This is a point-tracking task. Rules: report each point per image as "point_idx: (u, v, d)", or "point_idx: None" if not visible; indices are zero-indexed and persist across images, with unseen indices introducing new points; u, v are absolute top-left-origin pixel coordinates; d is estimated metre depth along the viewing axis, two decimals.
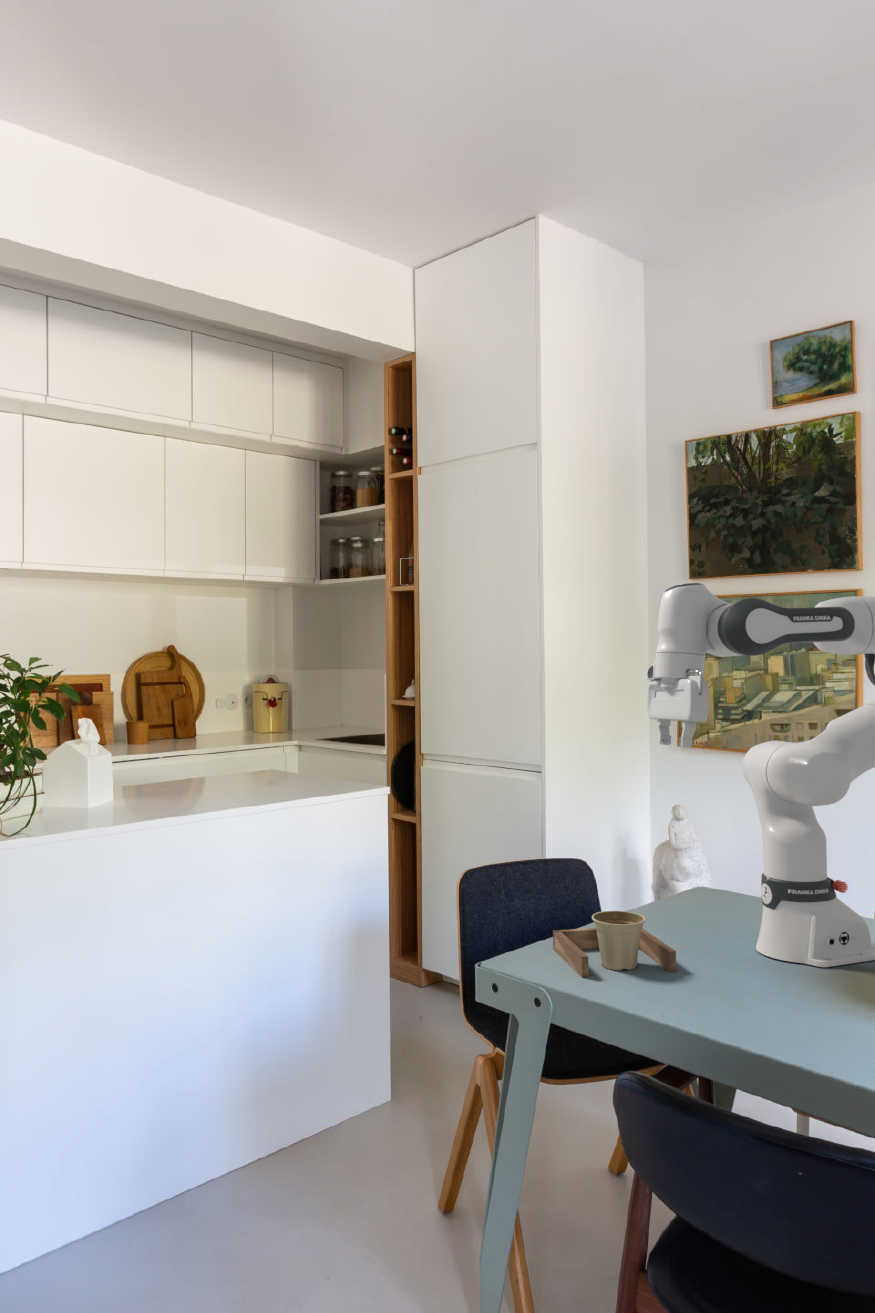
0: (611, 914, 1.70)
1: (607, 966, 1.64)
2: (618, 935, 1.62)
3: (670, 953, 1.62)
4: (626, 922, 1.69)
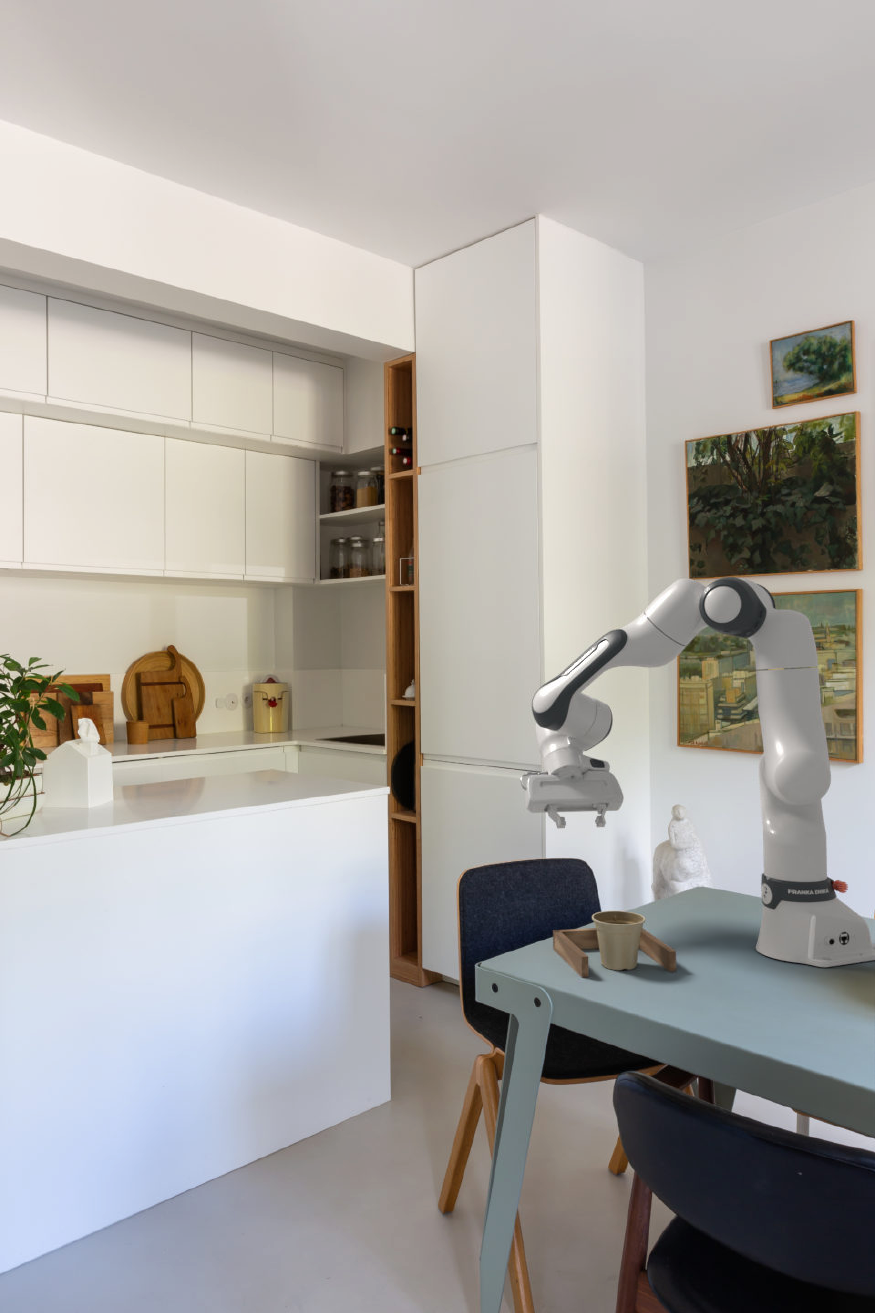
0: (611, 914, 1.70)
1: (607, 966, 1.64)
2: (618, 935, 1.62)
3: (670, 953, 1.62)
4: (626, 922, 1.69)
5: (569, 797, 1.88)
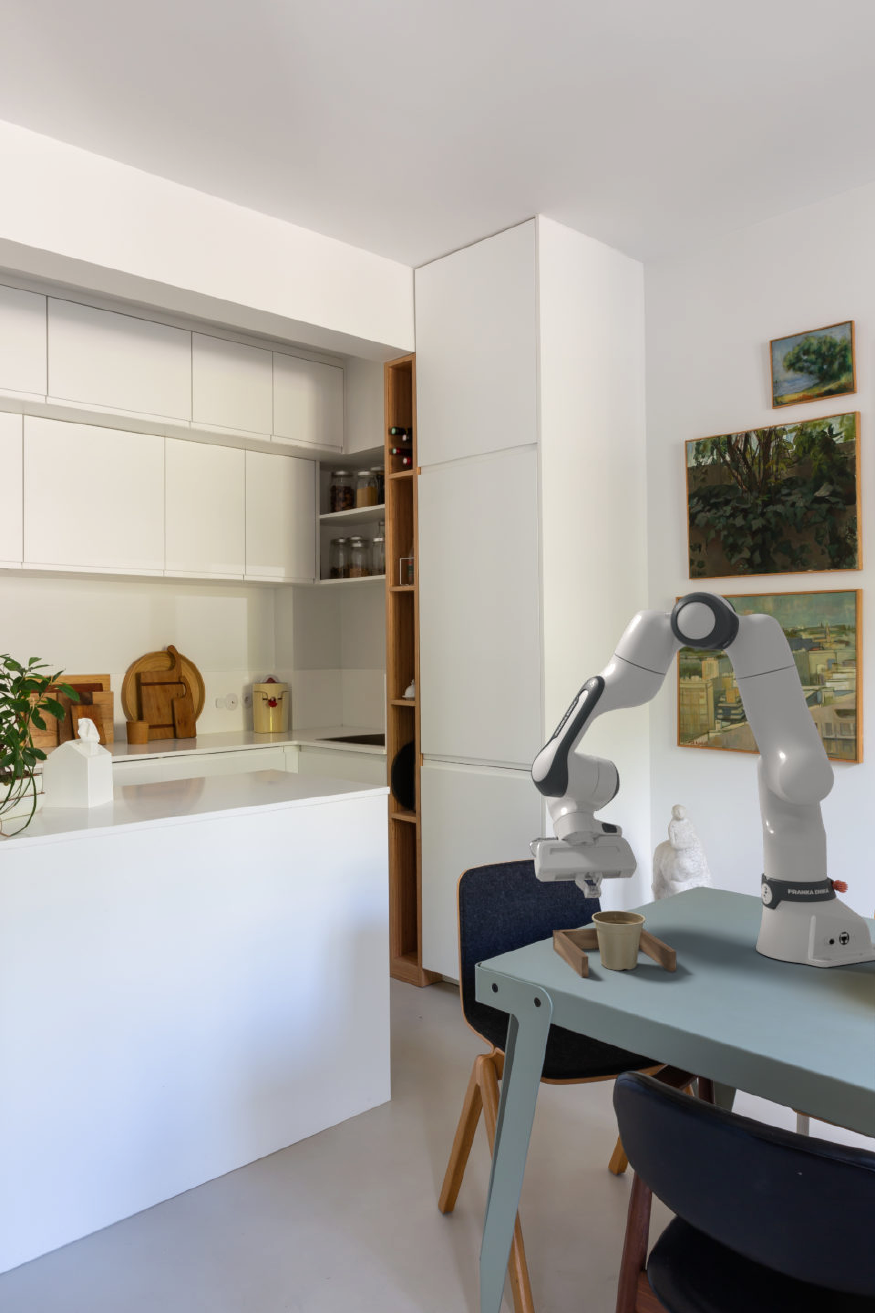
0: (611, 914, 1.70)
1: (607, 966, 1.64)
2: (618, 935, 1.62)
3: (670, 953, 1.62)
4: (626, 922, 1.69)
5: (580, 865, 1.81)
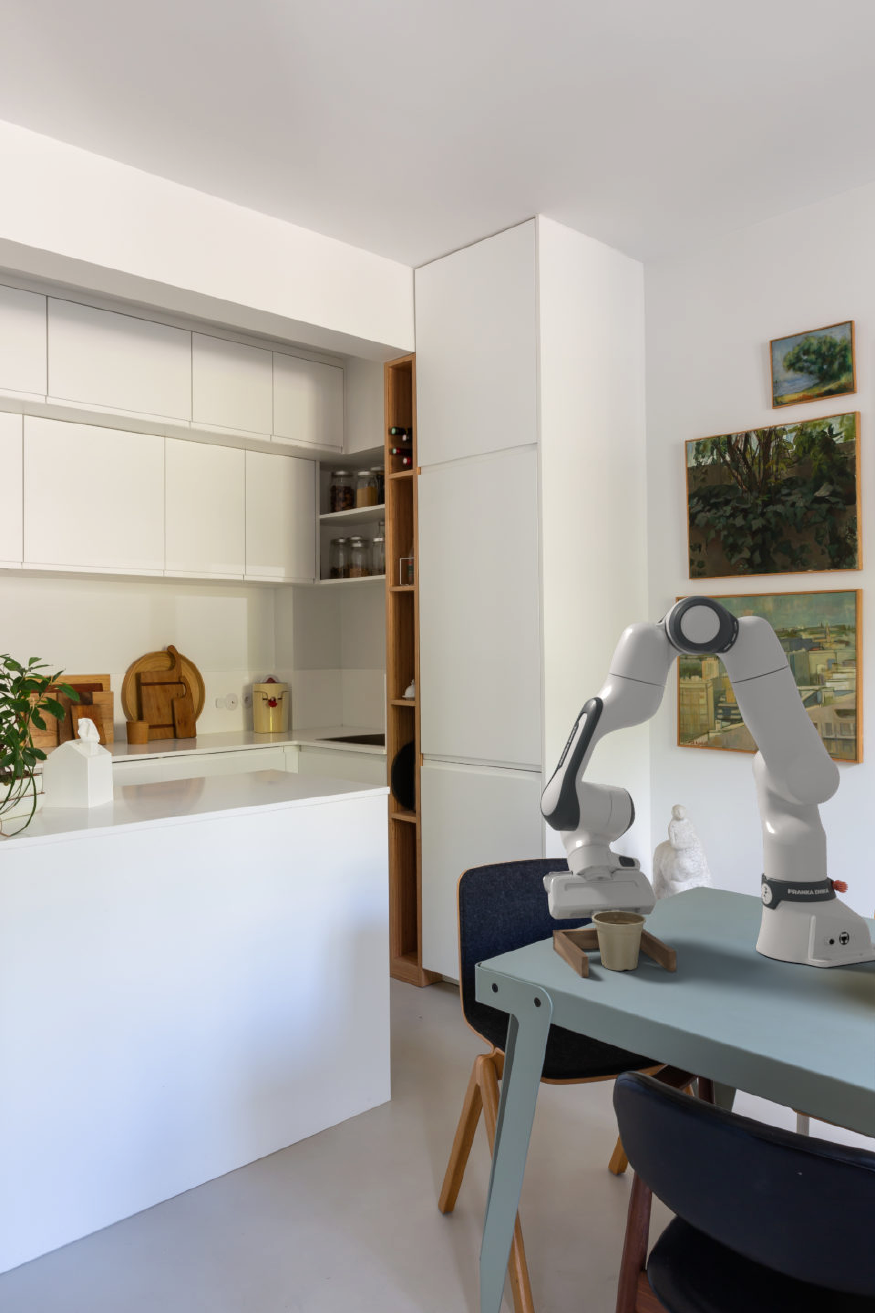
0: (611, 914, 1.70)
1: (607, 966, 1.63)
2: (618, 936, 1.62)
3: (670, 953, 1.62)
4: (626, 922, 1.69)
5: (597, 902, 1.72)
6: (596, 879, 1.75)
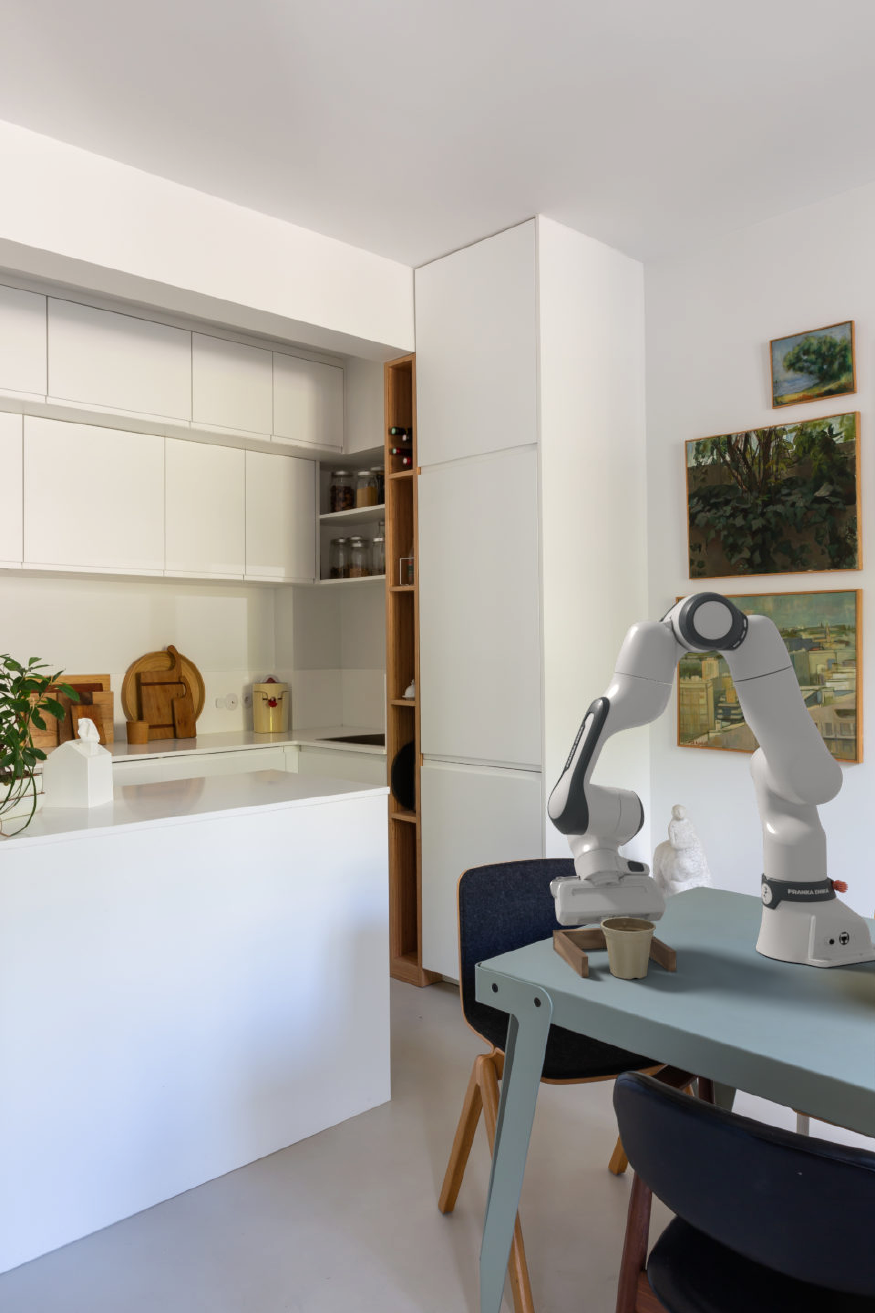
0: (620, 921, 1.65)
1: (617, 975, 1.59)
2: (628, 943, 1.57)
3: (670, 953, 1.62)
4: (636, 929, 1.64)
5: (605, 908, 1.67)
6: (604, 884, 1.71)
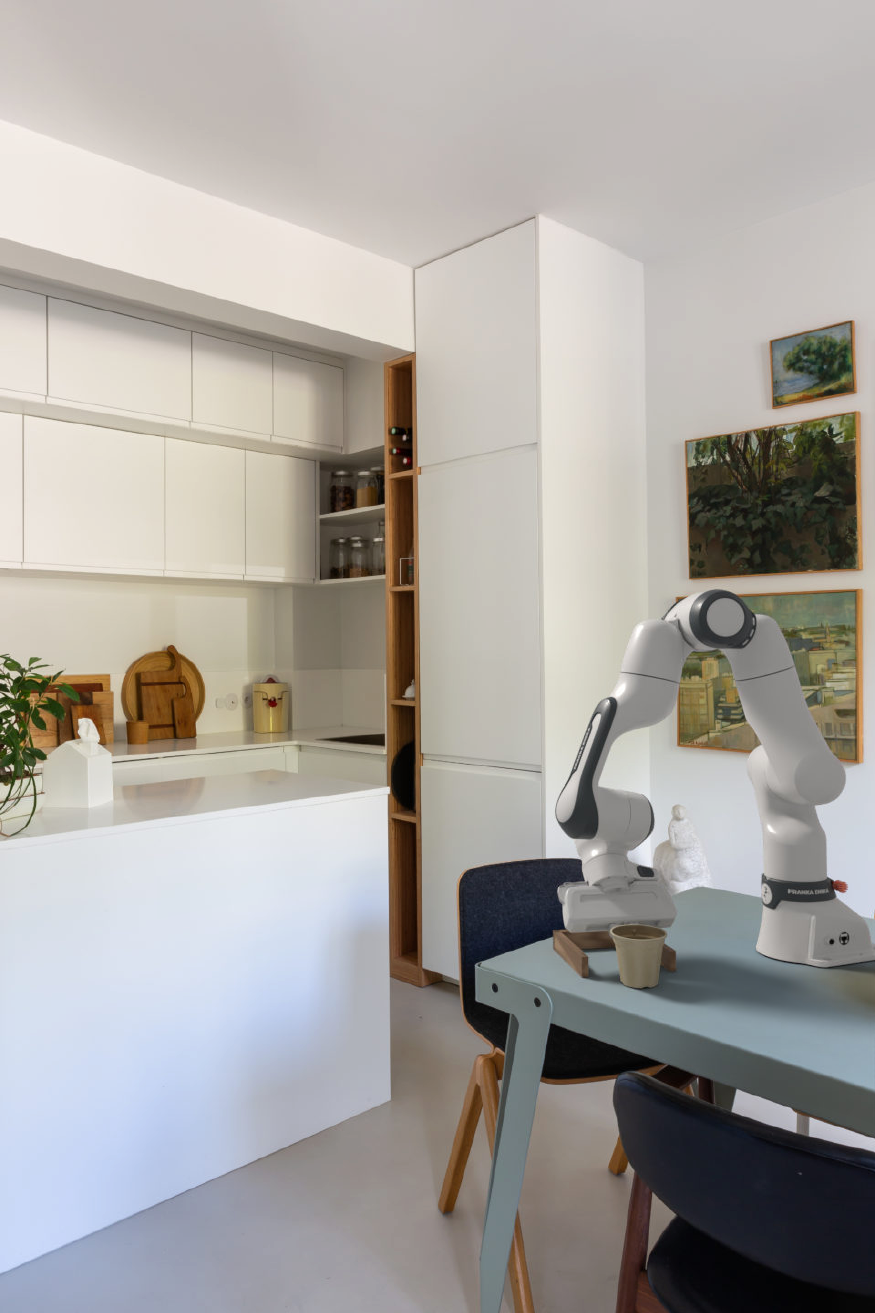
0: (630, 928, 1.61)
1: (627, 984, 1.54)
2: (638, 951, 1.52)
3: (670, 953, 1.62)
4: (646, 936, 1.60)
5: (614, 915, 1.63)
6: (613, 890, 1.66)
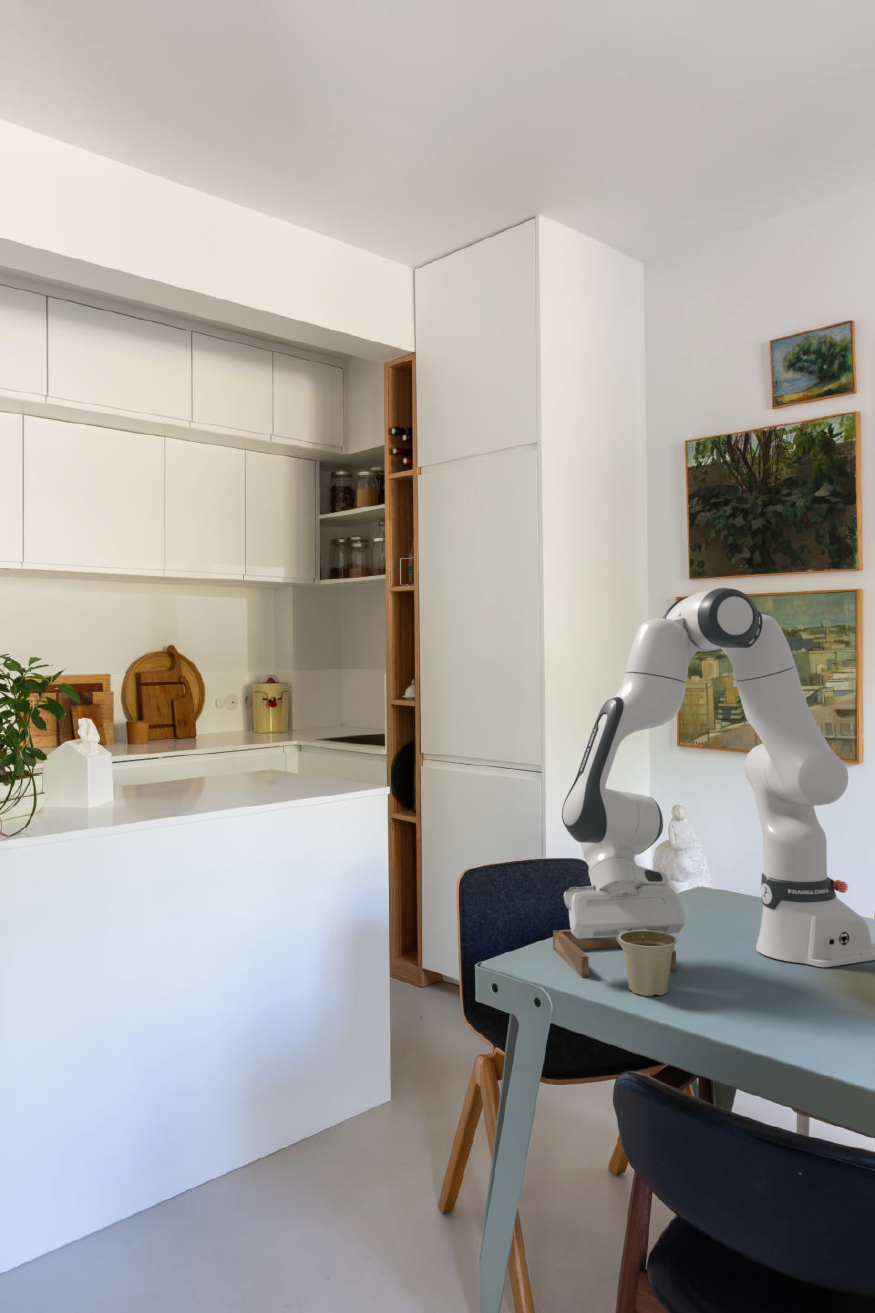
0: (638, 934, 1.57)
1: (636, 991, 1.50)
2: (648, 958, 1.49)
3: None
4: (655, 943, 1.56)
5: (622, 920, 1.59)
6: (621, 895, 1.62)
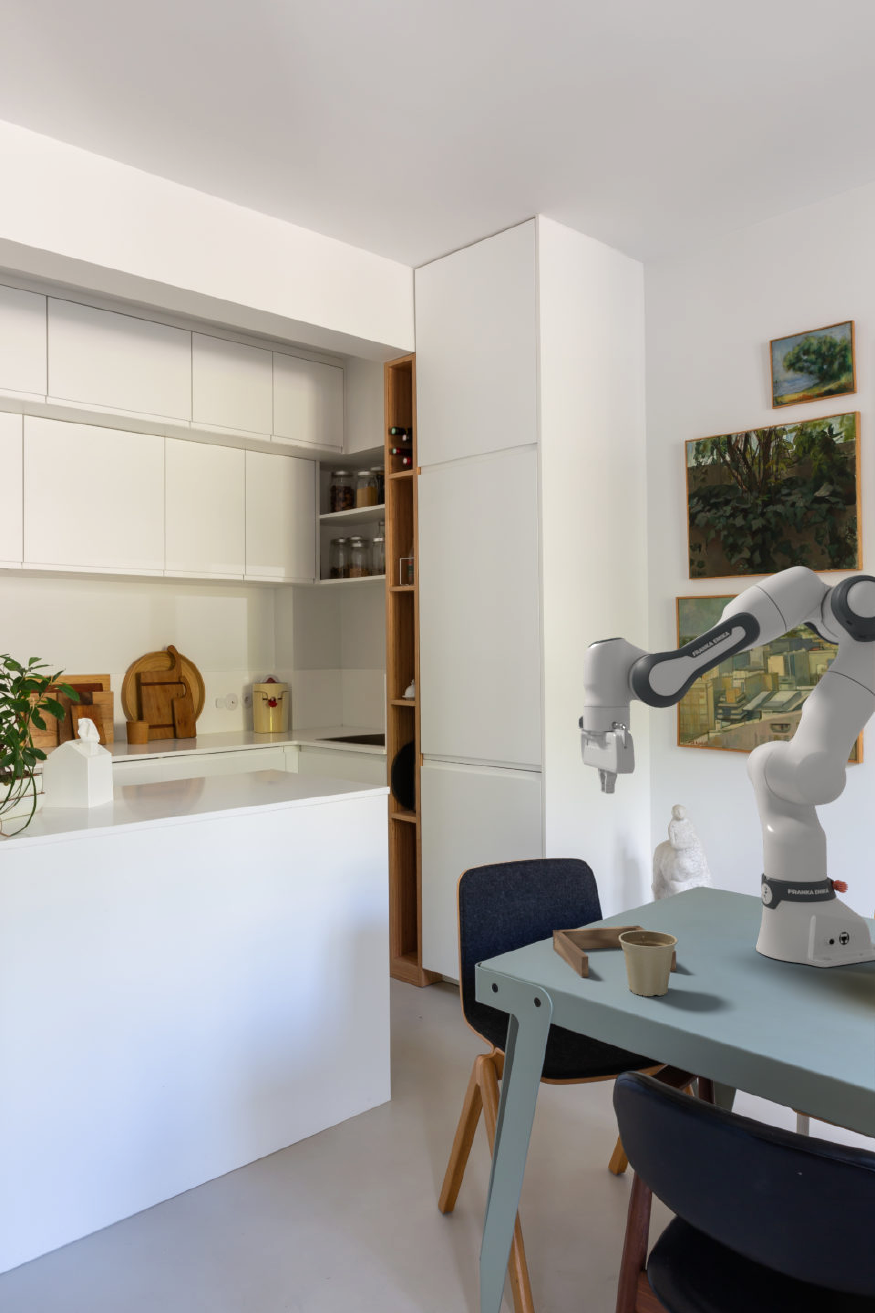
0: (639, 934, 1.57)
1: (636, 992, 1.50)
2: (648, 959, 1.49)
3: None
4: (655, 943, 1.56)
5: None
6: None
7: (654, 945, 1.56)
